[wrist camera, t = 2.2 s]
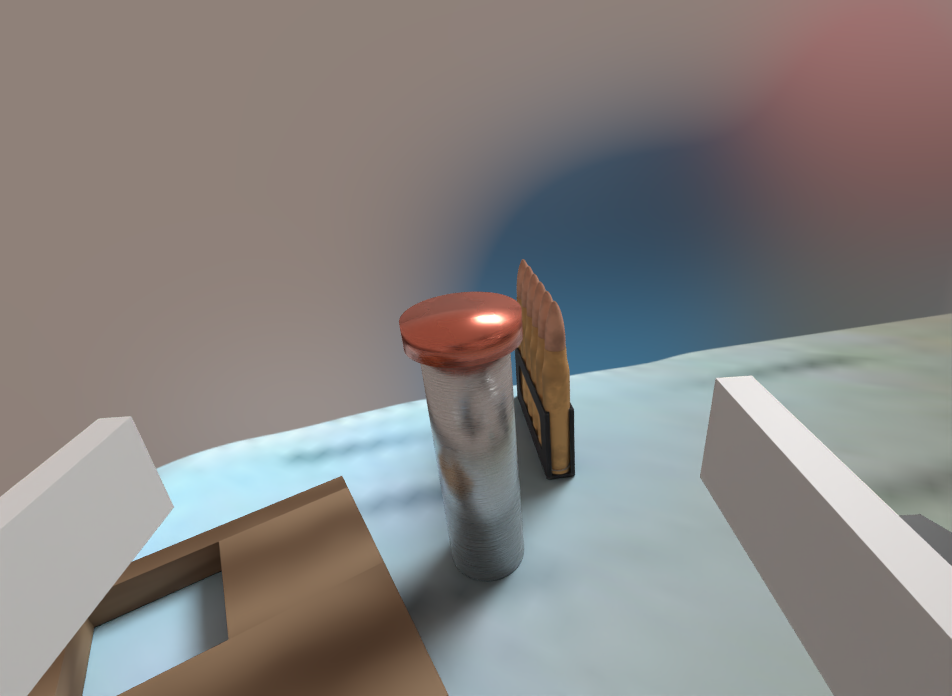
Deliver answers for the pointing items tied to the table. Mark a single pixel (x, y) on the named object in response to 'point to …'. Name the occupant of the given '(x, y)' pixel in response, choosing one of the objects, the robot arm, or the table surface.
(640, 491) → the table surface
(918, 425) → the table surface
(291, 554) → the walnut plate
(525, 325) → the ammunition clip
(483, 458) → the steel pin
